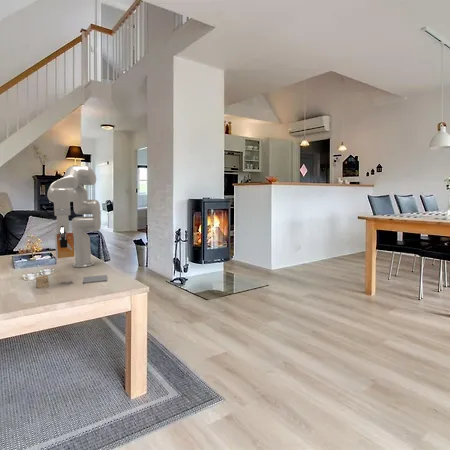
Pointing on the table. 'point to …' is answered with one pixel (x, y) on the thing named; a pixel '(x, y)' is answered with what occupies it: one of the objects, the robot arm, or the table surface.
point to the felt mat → (95, 279)
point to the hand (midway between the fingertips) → (64, 246)
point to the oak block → (42, 281)
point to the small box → (69, 249)
